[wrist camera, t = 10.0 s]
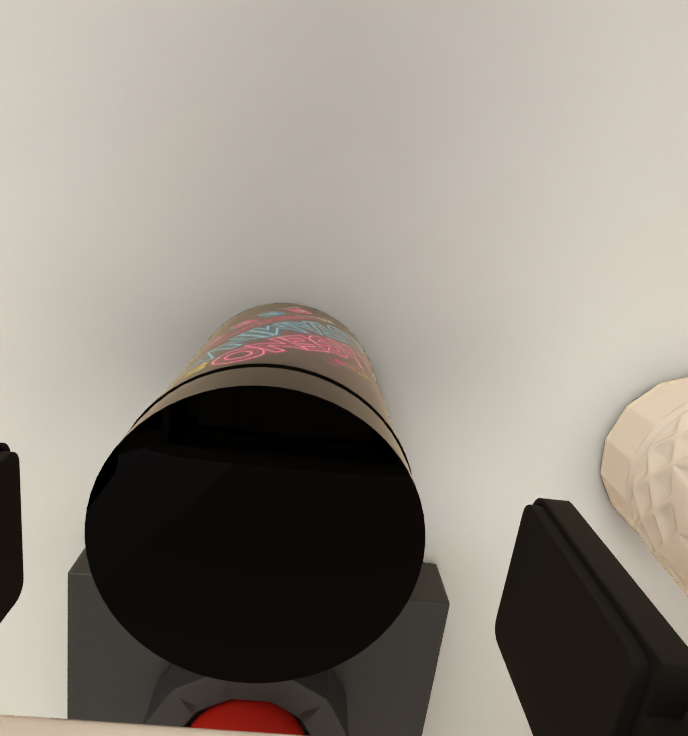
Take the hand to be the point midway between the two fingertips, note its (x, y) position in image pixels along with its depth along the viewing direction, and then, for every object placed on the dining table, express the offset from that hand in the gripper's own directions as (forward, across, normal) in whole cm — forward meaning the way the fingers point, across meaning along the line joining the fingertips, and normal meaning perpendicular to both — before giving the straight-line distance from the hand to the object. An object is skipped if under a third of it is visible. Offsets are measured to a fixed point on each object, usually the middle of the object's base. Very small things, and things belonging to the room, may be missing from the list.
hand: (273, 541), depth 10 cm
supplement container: (+11, 0, +1) cm, 11 cm away
